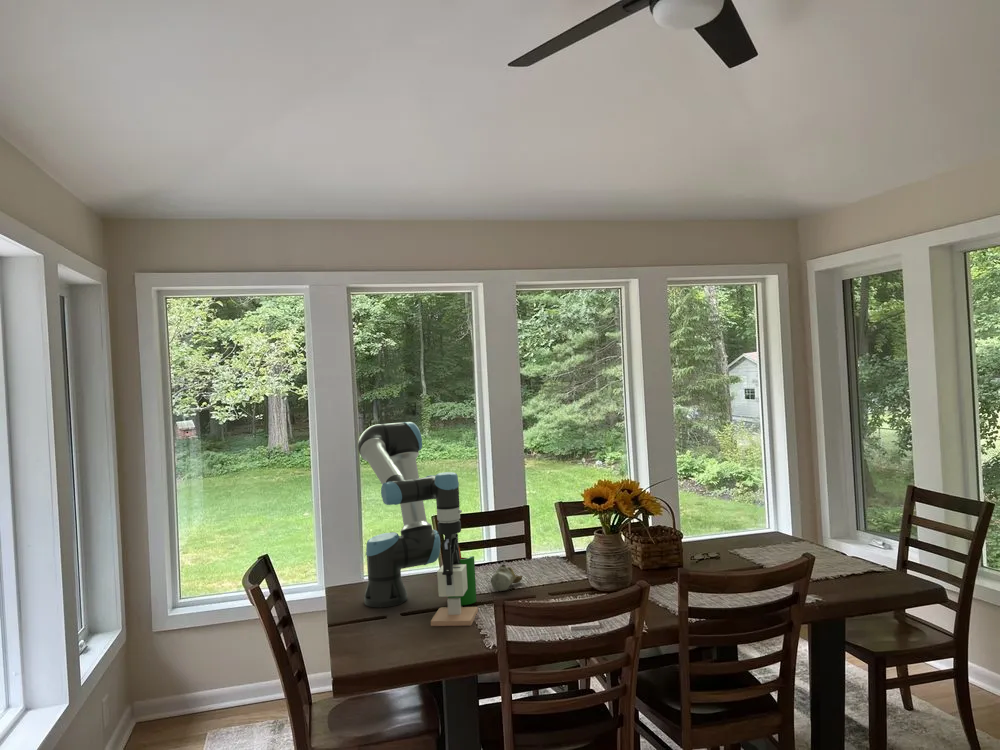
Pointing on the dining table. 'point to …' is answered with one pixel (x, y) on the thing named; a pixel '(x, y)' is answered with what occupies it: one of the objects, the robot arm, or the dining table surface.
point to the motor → (468, 581)
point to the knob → (459, 580)
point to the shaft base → (454, 614)
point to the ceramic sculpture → (504, 578)
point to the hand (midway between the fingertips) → (453, 590)
